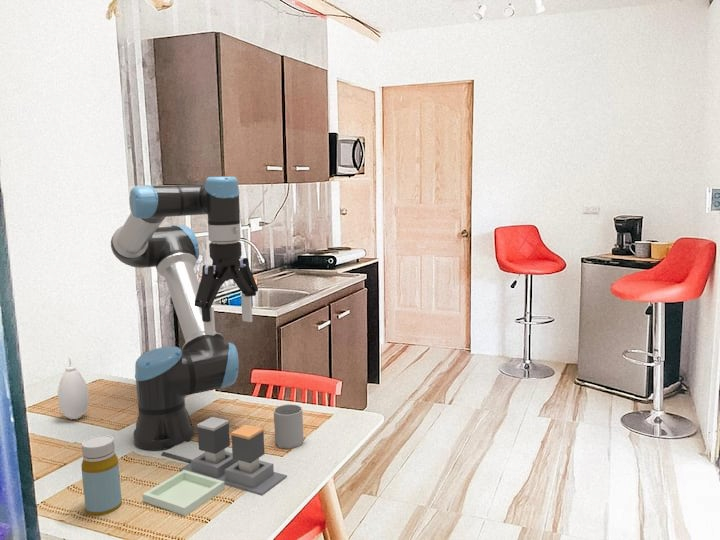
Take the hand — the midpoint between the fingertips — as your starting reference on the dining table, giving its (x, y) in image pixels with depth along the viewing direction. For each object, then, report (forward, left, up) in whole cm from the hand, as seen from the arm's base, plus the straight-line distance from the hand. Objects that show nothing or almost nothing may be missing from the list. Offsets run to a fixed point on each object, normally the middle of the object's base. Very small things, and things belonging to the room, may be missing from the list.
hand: (229, 327), depth 153 cm
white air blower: (-54, -6, -31) cm, 62 cm away
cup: (+9, +9, -31) cm, 34 cm away
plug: (+14, -12, -30) cm, 36 cm away
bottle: (-6, -35, -31) cm, 48 cm away
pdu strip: (+4, -12, -31) cm, 34 cm away
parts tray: (+6, -24, -31) cm, 40 cm away
